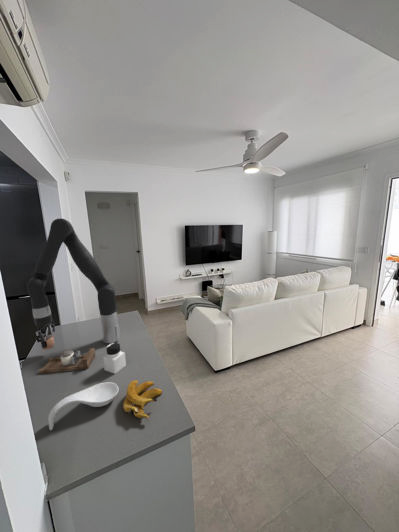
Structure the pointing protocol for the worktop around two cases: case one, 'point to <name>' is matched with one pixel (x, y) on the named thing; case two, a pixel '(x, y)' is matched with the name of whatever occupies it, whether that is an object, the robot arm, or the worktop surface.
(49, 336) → the terracotta jar
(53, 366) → the lane
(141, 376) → the worktop surface
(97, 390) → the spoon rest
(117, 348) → the medicine bottle
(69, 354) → the cream jar
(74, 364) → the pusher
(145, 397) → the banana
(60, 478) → the worktop surface
